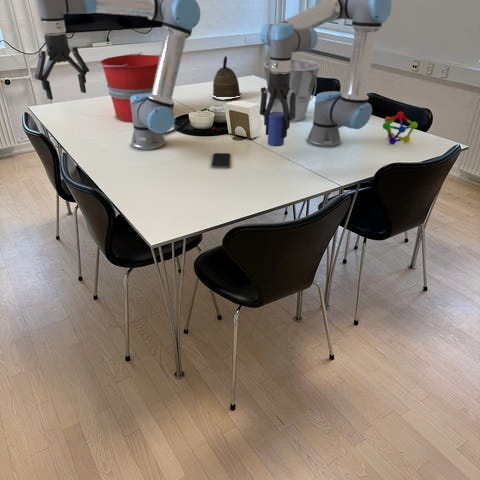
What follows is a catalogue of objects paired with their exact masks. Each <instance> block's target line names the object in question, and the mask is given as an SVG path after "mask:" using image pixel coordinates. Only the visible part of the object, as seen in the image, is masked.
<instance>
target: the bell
mask: <svg viewBox="0 0 480 480" xmlns="http://www.w3.org/2000/svg"><path fill="white" fill-rule="evenodd" d="M227 63H228V57H227V56H224V58H223V63H222V67H221V68H219V69H218V70H217V71H216V73H215V75H214V78H213V81H212V83H213V84H212V95H214V96H216V97H236V96H240V95H241V96H242V93H241V92H240V83H239V80H238V79H239V78H238V77H237V75H236V73H235V72H234V70H232V69H231V68H230V67H227Z"/></svg>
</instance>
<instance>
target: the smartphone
mask: <svg viewBox="0 0 480 480" xmlns="http://www.w3.org/2000/svg"><path fill="white" fill-rule="evenodd" d="M230 160H231V154H230V153H229V152H215V153H213V155H212V162H211V167H212V168H214V169H215V168H219V169H220V168H221V169H225V168H226V169H228V168H229V167H230Z"/></svg>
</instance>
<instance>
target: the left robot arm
mask: <svg viewBox="0 0 480 480" xmlns="http://www.w3.org/2000/svg"><path fill="white" fill-rule="evenodd" d="M36 4H37V9H38V13H39V18H40V23H41V24H40V25H41V29H42V32H43V34H44V36H43V37H44V42H45V47H46V50H42V49H41V50H40V49H39V50H38V59H37V65H36V69H35V75H34V79H35V80H38V81H40V82H41V86H42V89H43V91H45V94H46V98H47V100H51V101H53V100H54V98H53V97H54V96H53V92H52V88H51V84H50V80H48V79H49V76H50V74H51V72H52V70H53V69H54V66H55V65H56V64H59V63H62V62H63V63H66V62H67V63H69V65H71V67H72V68H73V69H75V71H76V72H77V73H78V74H77V78H78V84H79V89H80V93H83V94H87V89H86V83H87V79H86V76H87V73H89V72H90V68H89V67H88V65H87V64H86V62H85V60H84V59H83V58H82V56H81V54H80V53H79V49H78V47H77V46H74V45H73V46H72V45H71V46H70V47H69V40H68V35H67V34H66V32H67V29H66V24H65V18H64V15H76V14H77V15H80V14H81V15H82V14H87V15H88V14H95V13H96V14H107V15H119V16H120V15H121V16H132V17H143V18H144V17H145V18H147V20H149V21H158V22H160V23H161V22H162V26H161V27H162V29H163V30H164V35H163V39H162V45H161V49H160V52H159V56H160V57H159V62H158V66H157V71H156V75H155V80H154V84H153V89H152V92H151V93H145V94H137V95H133V96H131V98H130V101H131V103H130V104H131V111H132V118H133V122H132V125H133V132H132V135H131V142H130V143H131V147H132V148H134V149H135V150H141V151H151V150H153V151H154V150H157V149H161V148H163V147H164V146H165V144H166V140H165V137H164V135H167V134H170V133H173V132H176V131H177V130H179V129H181V128H182V127H183V126H184V125H185V124H187V122H189V121H190V119H188V118H187V119H188V120H187V119H186V120H187V121H186V120H185V121H186V122H185V121H184V122H185V123H184V122H182V123H181V124H182V125H181V124H180V125H181V126H180V125H179V126H180V127H179V126H177V127H178V128H177V127H175V128H173V126H174V125H175V121H176V116H175V113H174V111H173V110H174V107H175V102H174V100H173V94H174V90H175V87H176V82H177V79H178V75H179V70H180V65H181V62H182V57H183V53H184V49H185V44H186V41H187V39H188V38H190V37H191V36H192V32H193V29H194V28H195V27H197V25H198V24H199V22H200V20H201V7H200V6H199V3H198V1H197V0H36ZM71 54H72V55H73V57H74V58H75V60H76V61H77V62H76V61H75V60H74V59H73V58H72V57H71V56H70V55H71ZM47 57H48V60H47V59H46V58H47ZM46 60H47V63H46ZM45 64H46V65H45ZM204 108H205V109H204ZM204 108H202V109H203V110H202V109H200V110H201V112H203V111H206V110H208V109H207V108H208V107H207V108H206V107H204ZM172 128H173V129H172Z"/></svg>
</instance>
